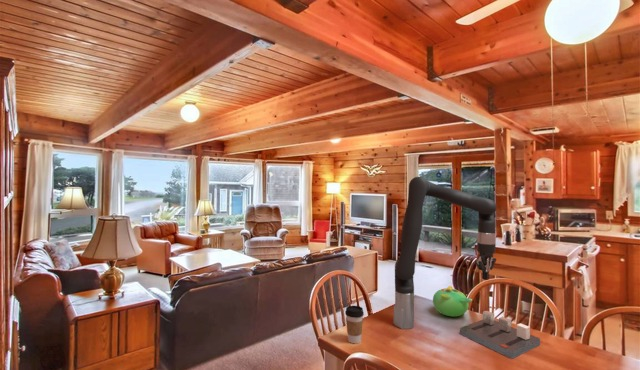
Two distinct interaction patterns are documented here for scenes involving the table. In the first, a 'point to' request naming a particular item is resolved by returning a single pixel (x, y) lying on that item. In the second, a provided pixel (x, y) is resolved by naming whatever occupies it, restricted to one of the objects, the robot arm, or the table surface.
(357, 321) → the coffee cup
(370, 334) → the table surface
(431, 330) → the table surface
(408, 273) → the robot arm
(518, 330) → the white rectangular block
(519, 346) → the switch panel
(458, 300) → the green rounded blob
